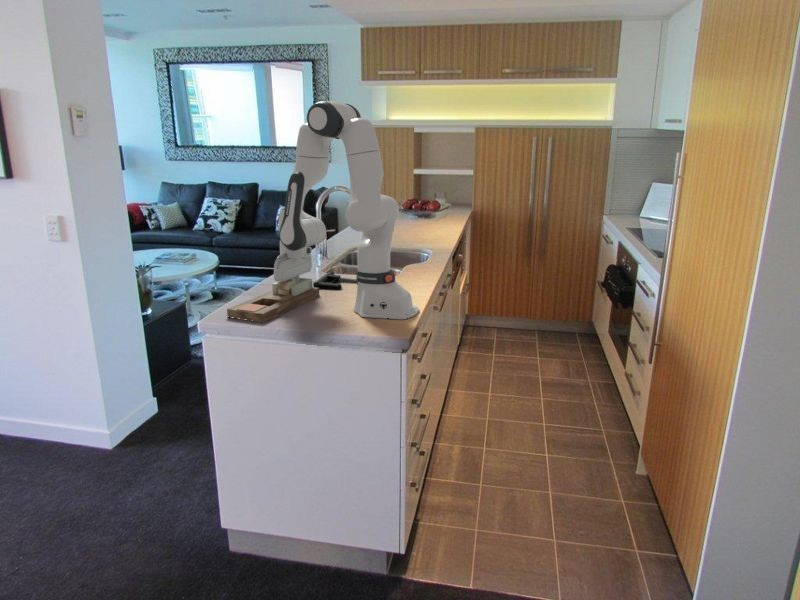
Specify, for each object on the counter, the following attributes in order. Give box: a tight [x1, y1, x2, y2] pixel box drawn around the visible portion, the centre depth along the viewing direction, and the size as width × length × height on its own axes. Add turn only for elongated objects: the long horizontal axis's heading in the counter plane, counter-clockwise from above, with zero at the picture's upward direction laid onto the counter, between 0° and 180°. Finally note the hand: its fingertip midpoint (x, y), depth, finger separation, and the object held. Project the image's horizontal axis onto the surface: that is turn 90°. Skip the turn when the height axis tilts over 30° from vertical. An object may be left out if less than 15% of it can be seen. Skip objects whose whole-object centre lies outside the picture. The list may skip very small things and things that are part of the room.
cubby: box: [271, 277, 314, 296], centre depth 214 cm, size 10×12×4 cm
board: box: [226, 286, 320, 323], centre depth 205 cm, size 14×36×3 cm, turn 158°
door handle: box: [312, 271, 357, 291], centre depth 237 cm, size 3×20×16 cm
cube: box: [277, 280, 295, 295], centre depth 210 cm, size 4×4×4 cm
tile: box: [237, 304, 267, 312], centre depth 192 cm, size 7×7×1 cm
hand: (294, 288), depth 215 cm, fingers closed
